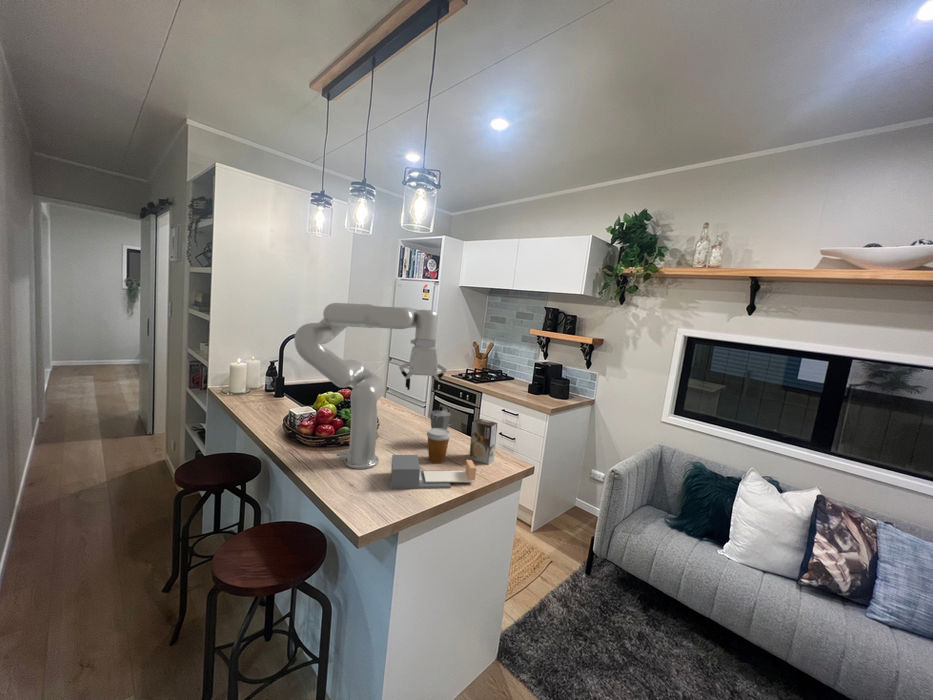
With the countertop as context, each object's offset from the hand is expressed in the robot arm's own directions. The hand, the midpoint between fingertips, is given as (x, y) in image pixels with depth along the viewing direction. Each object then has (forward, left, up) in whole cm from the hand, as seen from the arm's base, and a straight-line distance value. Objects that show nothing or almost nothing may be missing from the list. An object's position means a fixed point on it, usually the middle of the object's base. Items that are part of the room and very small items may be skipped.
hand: (421, 389), depth 137 cm
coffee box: (+28, +8, -31) cm, 42 cm away
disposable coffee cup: (+9, +7, -31) cm, 33 cm away
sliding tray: (+11, -10, -29) cm, 33 cm away
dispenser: (+1, -10, -30) cm, 32 cm away
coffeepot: (+12, +23, -31) cm, 40 cm away
